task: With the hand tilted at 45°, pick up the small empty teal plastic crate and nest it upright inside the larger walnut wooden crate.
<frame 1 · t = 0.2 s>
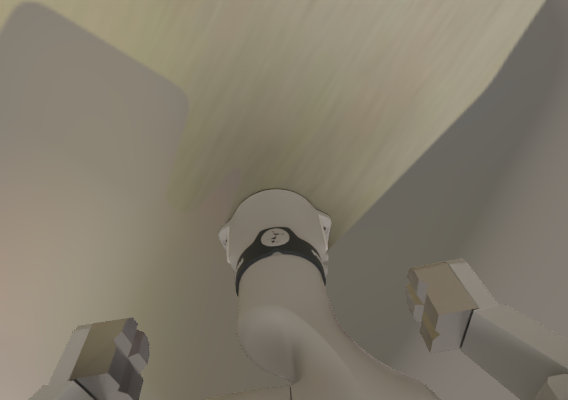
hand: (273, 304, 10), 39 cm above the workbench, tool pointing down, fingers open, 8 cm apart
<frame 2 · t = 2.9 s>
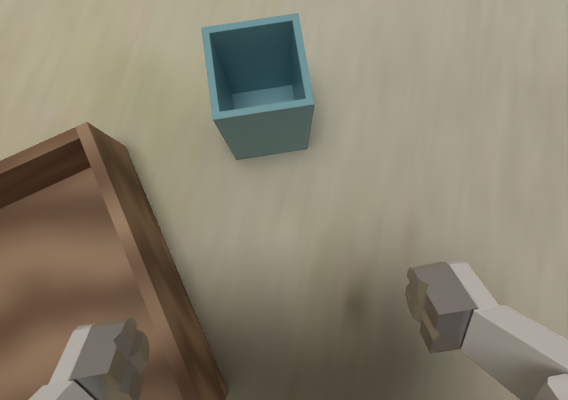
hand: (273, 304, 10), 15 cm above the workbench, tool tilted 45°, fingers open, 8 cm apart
teal crate: (266, 120, 26), on the workbench
walnut crate: (74, 309, 24), on the workbench
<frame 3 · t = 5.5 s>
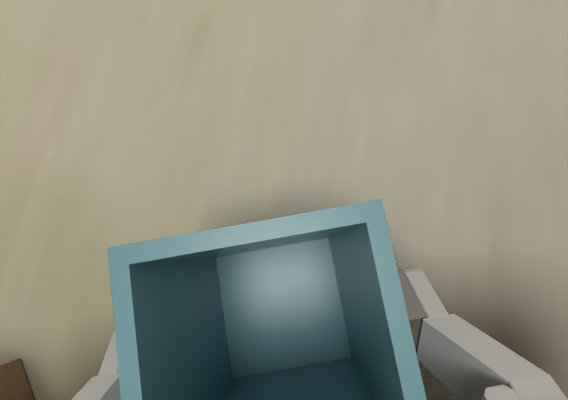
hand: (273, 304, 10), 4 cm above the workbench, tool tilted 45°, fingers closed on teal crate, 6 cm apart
teal crate: (282, 303, 14), on the workbench, touching gripper
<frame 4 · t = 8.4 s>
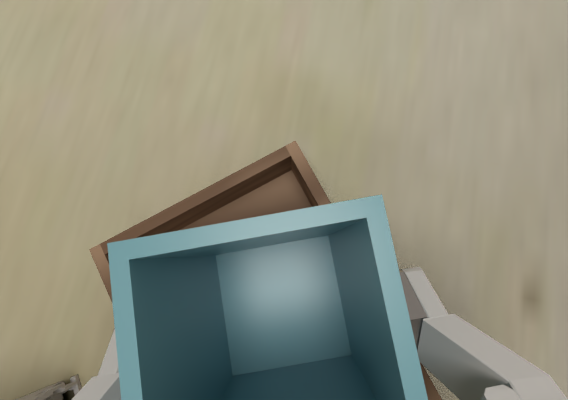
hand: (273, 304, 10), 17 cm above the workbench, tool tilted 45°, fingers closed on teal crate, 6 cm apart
teal crate: (282, 301, 14), point 13 cm above the workbench, touching gripper
walnut crate: (267, 313, 26), on the workbench
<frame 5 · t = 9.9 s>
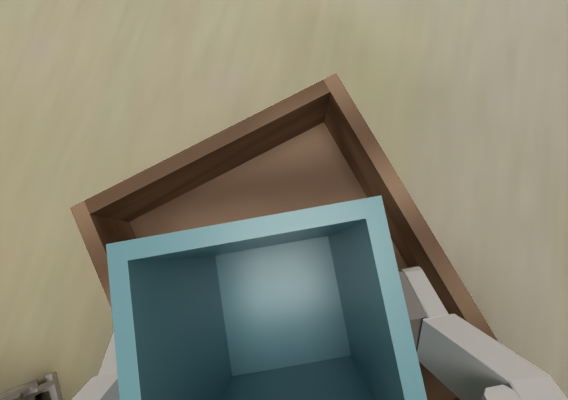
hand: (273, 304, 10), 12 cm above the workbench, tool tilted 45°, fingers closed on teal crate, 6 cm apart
teal crate: (281, 301, 14), point 7 cm above the workbench, touching gripper
walnut crate: (293, 297, 21), on the workbench
when the fingers open (7 cm above the workbench, at t = 11.2 s): teal crate drops 1 cm, resting on walnut crate.
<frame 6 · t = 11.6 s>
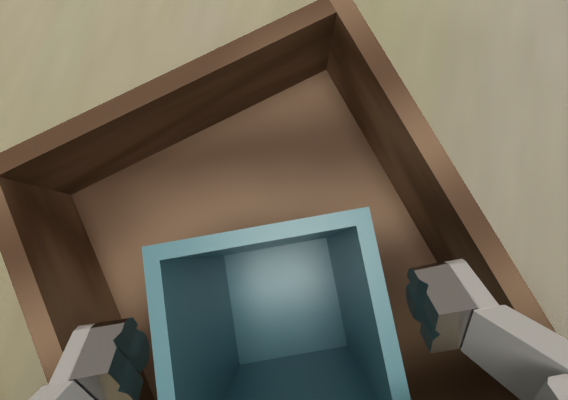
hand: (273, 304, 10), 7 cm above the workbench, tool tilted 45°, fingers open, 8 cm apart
teal crate: (284, 297, 15), point 1 cm above the workbench, touching walnut crate
walnut crate: (283, 295, 16), on the workbench
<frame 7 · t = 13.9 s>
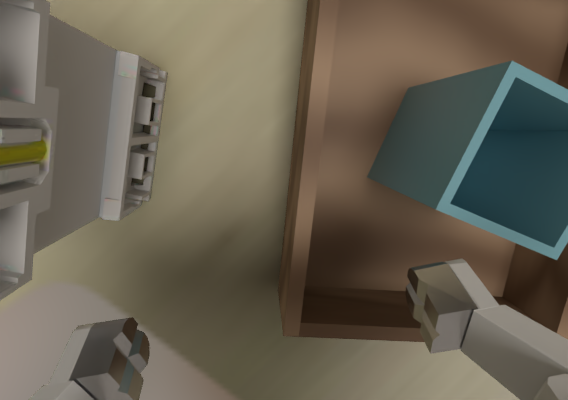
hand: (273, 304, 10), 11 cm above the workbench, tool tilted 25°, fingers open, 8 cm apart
teal crate: (427, 151, 20), point 1 cm above the workbench, touching walnut crate
circuit breaker: (31, 111, 19), on the workbench
walnut crate: (420, 150, 21), on the workbench
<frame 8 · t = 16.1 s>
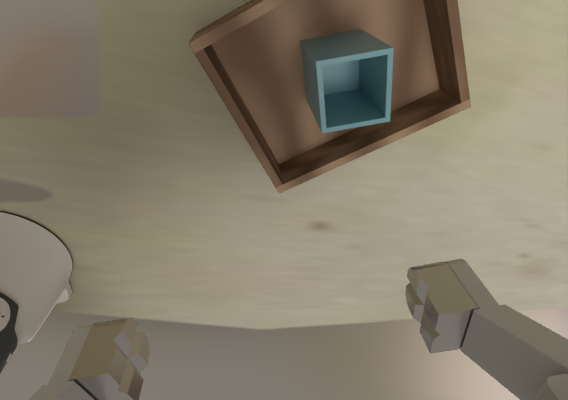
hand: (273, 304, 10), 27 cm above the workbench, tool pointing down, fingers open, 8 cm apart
teal crate: (332, 66, 32), point 1 cm above the workbench, touching walnut crate
walnut crate: (330, 63, 32), on the workbench
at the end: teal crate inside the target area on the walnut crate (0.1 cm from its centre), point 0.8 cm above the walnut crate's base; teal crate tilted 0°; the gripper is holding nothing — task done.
